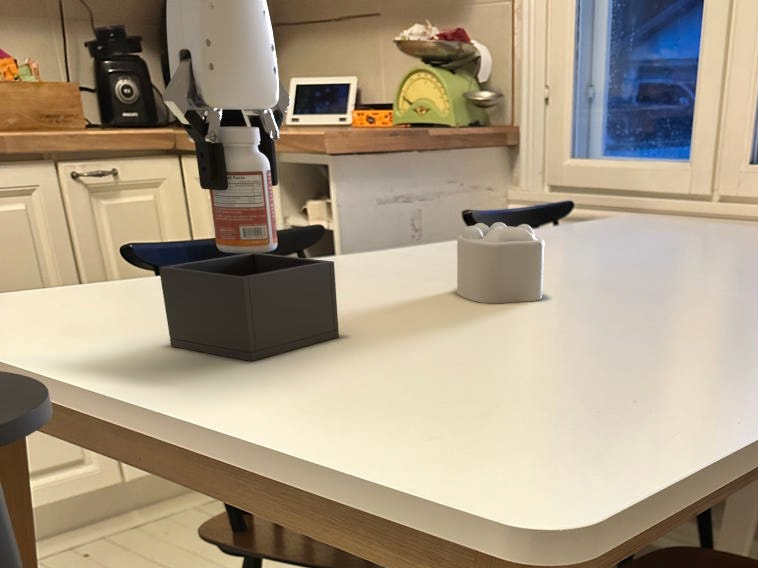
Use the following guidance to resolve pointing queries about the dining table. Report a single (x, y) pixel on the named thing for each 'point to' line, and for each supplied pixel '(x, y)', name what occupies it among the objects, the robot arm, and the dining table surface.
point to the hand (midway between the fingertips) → (240, 185)
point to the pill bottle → (244, 196)
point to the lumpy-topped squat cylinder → (499, 263)
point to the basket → (250, 304)
